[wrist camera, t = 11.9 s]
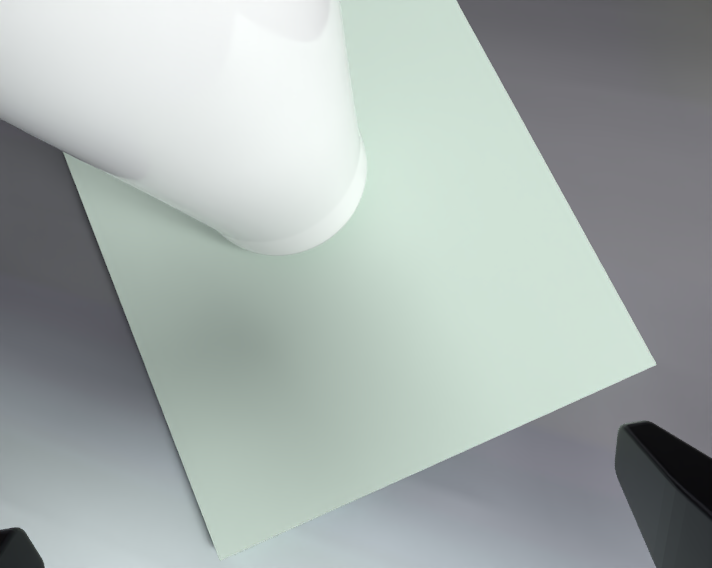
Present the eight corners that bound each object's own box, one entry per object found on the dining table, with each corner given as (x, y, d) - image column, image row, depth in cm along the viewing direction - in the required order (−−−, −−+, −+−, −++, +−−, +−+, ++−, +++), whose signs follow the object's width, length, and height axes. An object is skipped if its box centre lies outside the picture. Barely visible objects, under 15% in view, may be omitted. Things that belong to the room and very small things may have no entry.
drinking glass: (317, 325, 18) (-217, -12, 4) (146, 217, 20) (-708, -319, 5) (434, 139, 19) (384, -792, 4) (260, 49, 20) (-218, -853, 6)
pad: (649, 364, 18) (656, 364, 17) (227, 554, 19) (220, 560, 18) (363, -158, 21) (360, -173, 21) (24, 29, 22) (12, 21, 22)
